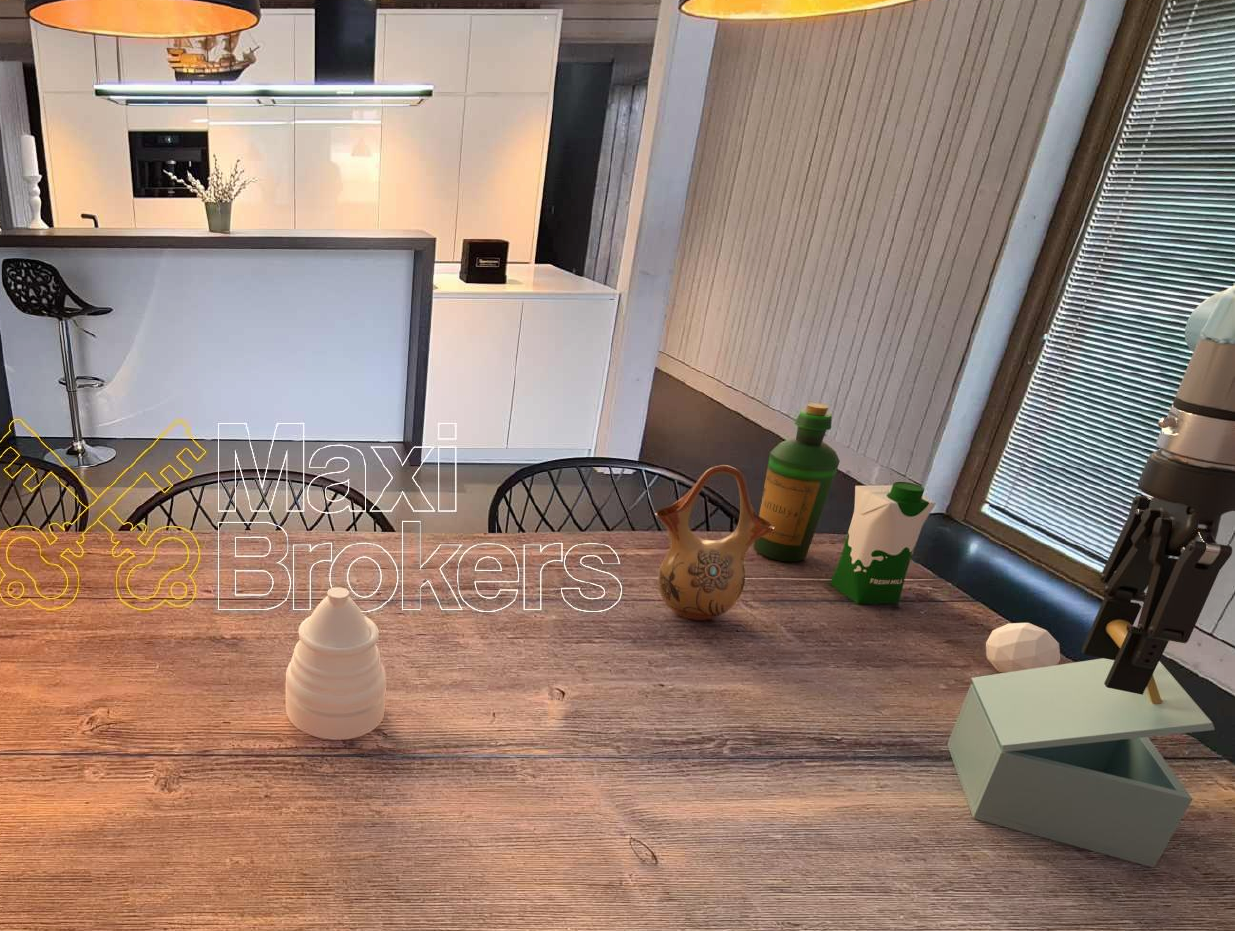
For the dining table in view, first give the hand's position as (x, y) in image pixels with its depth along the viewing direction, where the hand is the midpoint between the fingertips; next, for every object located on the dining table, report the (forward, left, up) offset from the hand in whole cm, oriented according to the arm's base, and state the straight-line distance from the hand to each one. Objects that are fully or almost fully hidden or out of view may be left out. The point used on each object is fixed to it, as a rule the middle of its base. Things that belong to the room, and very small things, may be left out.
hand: (1110, 671), depth 83 cm
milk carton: (+13, -48, -17) cm, 53 cm away
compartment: (+1, 0, -17) cm, 17 cm away
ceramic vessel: (+38, -27, -17) cm, 50 cm away
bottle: (+25, -59, -17) cm, 66 cm away
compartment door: (+1, 0, -4) cm, 5 cm away
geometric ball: (-3, -30, -17) cm, 35 cm away
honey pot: (+78, +21, -17) cm, 82 cm away
